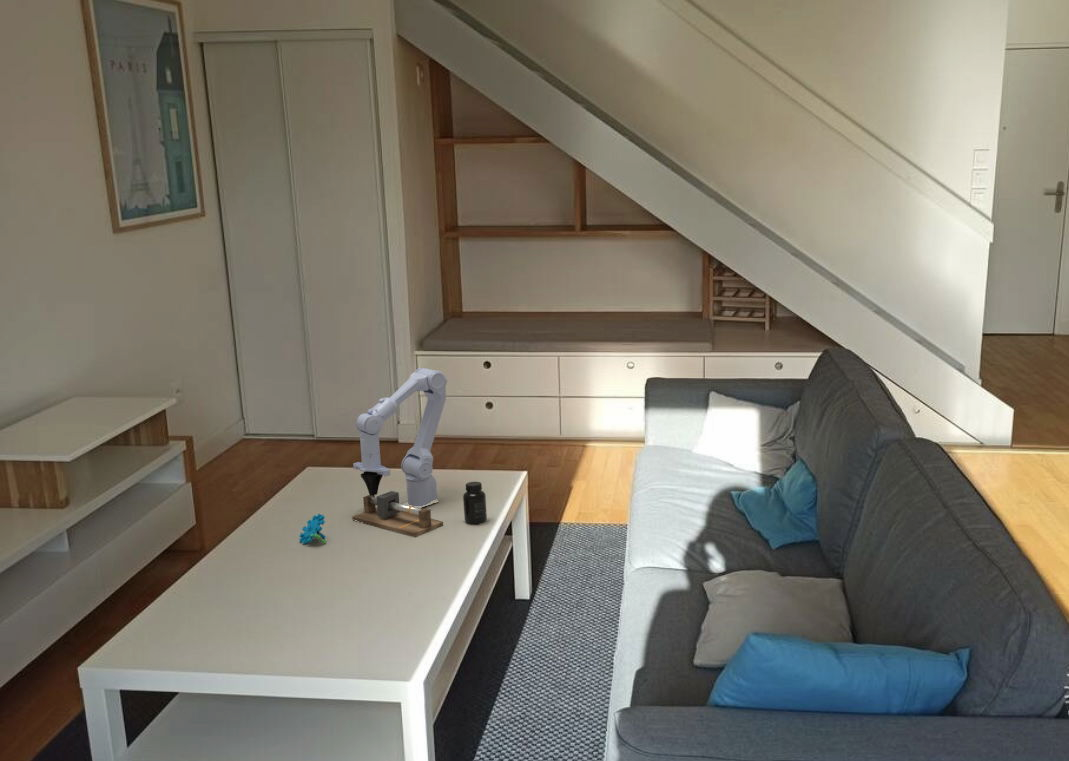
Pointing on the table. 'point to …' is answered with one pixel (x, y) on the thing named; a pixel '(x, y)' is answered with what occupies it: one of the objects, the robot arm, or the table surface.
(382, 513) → the collar
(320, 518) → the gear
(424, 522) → the pipe stand
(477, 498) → the supplement bottle
